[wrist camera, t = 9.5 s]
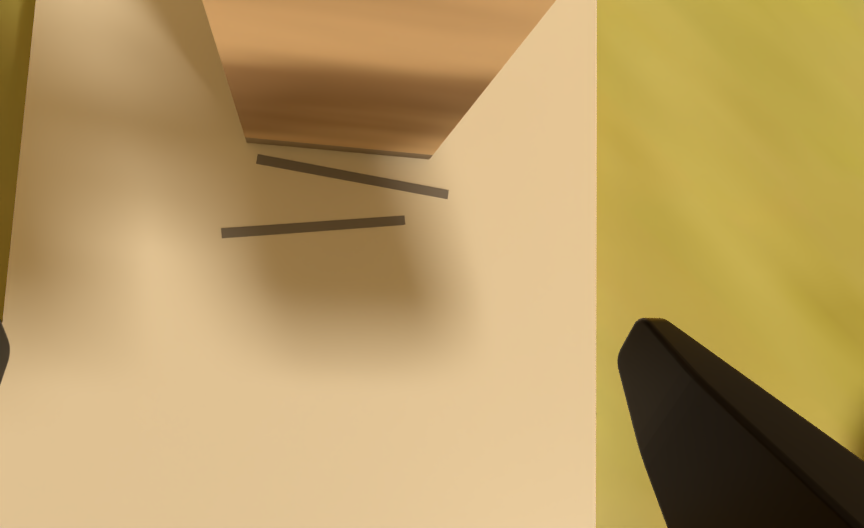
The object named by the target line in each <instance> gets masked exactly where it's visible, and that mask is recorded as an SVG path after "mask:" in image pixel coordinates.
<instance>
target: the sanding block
mask: <svg viewBox="0 0 864 528" xmlns="http://www.w3.org/2000/svg"><path fill="white" fill-rule="evenodd" d="M555 1H556V0H202V2H203V5H204V8H205V11H206V15H207V18H208V21H209V24H210V27H211V30H212V34H213V37H214V40H215V43H216V46H217V50H218V53H219V56H220V59H221V62H222V66H223V69H224V72H225V75H226V78H227V82H228V85H229V88H230V91H231V94H232V98H233V101H234V104H235V107H236V110H237V113H238V117H239V120H240V123H241V126H242V129H243V133H244V136H245V139H246V142H247V143H257V144H268V145H279V146H289V147H300V148H311V149H322V150H332V151H343V152H354V153H365V154H376V155H386V156H397V157H408V158H419V159H430V158H431V157H432V155H433V154H434V153H435V152H436V150H437V149H438V148H439V147H440V145H441V144H442V143H443V142H444V140H445V139H446V138H447V137H448V135H449V134H450V133H451V132H452V130H453V129H454V128H455V127H456V125H457V124H458V123H459V122H460V120H461V119H462V118H463V117H464V115H465V114H466V113H467V112H468V110H469V109H470V108H471V107H472V105H473V104H474V103H475V101H476V100H477V99H478V98H479V96H480V95H481V94H482V93H483V91H484V90H485V89H486V88H487V86H488V85H489V84H490V83H491V81H492V80H493V79H494V78H495V76H496V75H497V74H498V73H499V71H500V70H501V69H502V68H503V66H504V65H505V64H506V63H507V61H508V60H509V59H510V58H511V56H512V55H513V54H514V52H515V51H516V50H517V49H518V47H519V46H520V45H521V44H522V42H523V41H524V40H525V39H526V37H527V36H528V35H529V34H530V32H531V31H532V30H533V29H534V27H535V26H536V25H537V24H538V22H539V21H540V20H541V19H542V17H543V16H544V15H545V14H546V12H547V11H548V10H549V9H550V7H551V6H552V5H553V4H554V2H555Z"/></svg>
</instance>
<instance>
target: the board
mask: <svg viewBox="0 0 864 528" xmlns="http://www.w3.org/2000/svg"><path fill="white" fill-rule="evenodd" d="M596 139H597V0H556V1H555V2H554V4H553V5H552V6H551V7H550V9H549V10H548V11H547V12H546V14H545V15H544V16H543V17H542V19H541V20H540V21H539V22H538V24H537V25H536V26H535V27H534V29H533V30H532V31H531V32H530V34H529V35H528V36H527V37H526V39H525V40H524V41H523V42H522V44H521V45H520V46H519V47H518V49H517V50H516V51H515V52H514V54H513V55H512V56H511V58H510V59H509V60H508V61H507V63H506V64H505V65H504V66H503V68H502V69H501V70H500V71H499V73H498V74H497V75H496V76H495V78H494V79H493V80H492V81H491V83H490V84H489V85H488V86H487V88H486V89H485V90H484V91H483V93H482V94H481V95H480V96H479V98H478V99H477V100H476V101H475V103H474V104H473V105H472V107H471V108H470V109H469V110H468V112H467V113H466V114H465V115H464V117H463V118H462V119H461V120H460V122H459V123H458V124H457V125H456V127H455V128H454V129H453V130H452V132H451V133H450V134H449V135H448V137H447V138H446V139H445V140H444V142H443V143H442V144H441V145H440V147H439V148H438V149H437V150H436V152H435V153H434V154H433V155H432V157H431V158H430V159H419V158H408V157H397V156H386V155H376V154H365V153H354V152H343V151H332V150H322V149H311V148H300V147H289V146H279V145H268V144H257V143H247V142H246V139H245V136H244V133H243V129H242V126H241V123H240V120H239V117H238V113H237V110H236V107H235V104H234V101H233V98H232V94H231V91H230V88H229V85H228V82H227V78H226V75H225V72H224V69H223V66H222V62H221V59H220V56H219V53H218V50H217V46H216V43H215V40H214V37H213V34H212V30H211V27H210V24H209V21H208V18H207V15H206V11H205V8H204V5H203V2H202V0H36V3H35V13H34V22H33V32H32V42H31V51H30V61H29V70H28V80H27V90H26V99H25V109H24V119H23V128H22V138H21V148H20V157H19V167H18V177H17V186H16V196H15V206H14V215H13V225H12V234H11V244H10V254H9V263H8V273H7V283H6V292H5V302H4V312H3V321H2V325H3V327H4V330H5V332H6V335H7V337H8V340H9V344H10V356H9V361H8V364H7V367H6V370H5V373H4V376H3V379H2V382H1V385H0V528H596Z"/></svg>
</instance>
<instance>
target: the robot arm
mask: <svg viewBox="0 0 864 528" xmlns="http://www.w3.org/2000/svg"><path fill="white" fill-rule="evenodd" d="M9 356H10V344H9V340H8V337H7V335H6V332H5V330H4V327H3V325H2V322H1V320H0V385H1V382H2V379H3V376H4V373H5V370H6V367H7V364H8V361H9ZM618 369H619V373H620V377H621V381H622V385H623V389H624V393H625V397H626V401H627V405H628V408H629V412H630V416H631V420H632V424H633V428H634V432H635V436H636V440H637V443H638V446H639V450H640V453H641V456H642V459H643V462H644V465H645V468H646V471H647V473H648V476H649V479H650V482H651V484H652V487H653V490H654V492H655V495H656V498H657V500H658V503H659V506H660V509H661V511H662V514H663V517H664V519H665V522H666V525H667V528H864V461H863V460H861V459H860V458H859V457H857V456H856V455H854V454H853V453H852V452H850V451H849V450H847V449H846V448H845V447H843V446H842V445H841V444H839V443H838V442H836V441H835V440H834V439H832V438H831V437H829V436H828V435H827V434H825V433H824V432H822V431H821V430H820V429H818V428H817V427H815V426H814V425H813V424H811V423H810V422H808V421H807V420H806V419H804V418H803V417H801V416H800V415H799V414H797V413H796V412H794V411H793V410H792V409H790V408H789V407H787V406H786V405H785V404H783V403H782V402H781V401H779V400H778V399H776V398H775V397H774V396H772V395H771V394H769V393H768V392H767V391H765V390H764V389H762V388H761V387H760V386H758V385H757V384H755V383H754V382H753V381H751V380H750V379H748V378H747V377H746V376H744V375H743V374H741V373H740V372H739V371H737V370H736V369H734V368H733V367H732V366H730V365H729V364H728V363H726V362H725V361H723V360H722V359H721V358H719V357H718V356H716V355H715V354H714V353H712V352H711V351H709V350H708V349H707V348H705V347H704V346H702V345H701V344H700V343H698V342H697V341H695V340H694V339H693V338H691V337H690V336H688V335H687V334H686V333H684V332H683V331H682V330H680V329H679V328H677V327H676V326H675V325H673V324H672V323H670V322H669V321H667V320H665V319H661V318H641V319H639V320H638V321H636V322H635V324H634V326H633V327H632V329H631V331H630V333H629V335H628V337H627V338H626V340H625V342H624V344H623V346H622V348H621V349H620V352H619V355H618Z"/></svg>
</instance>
